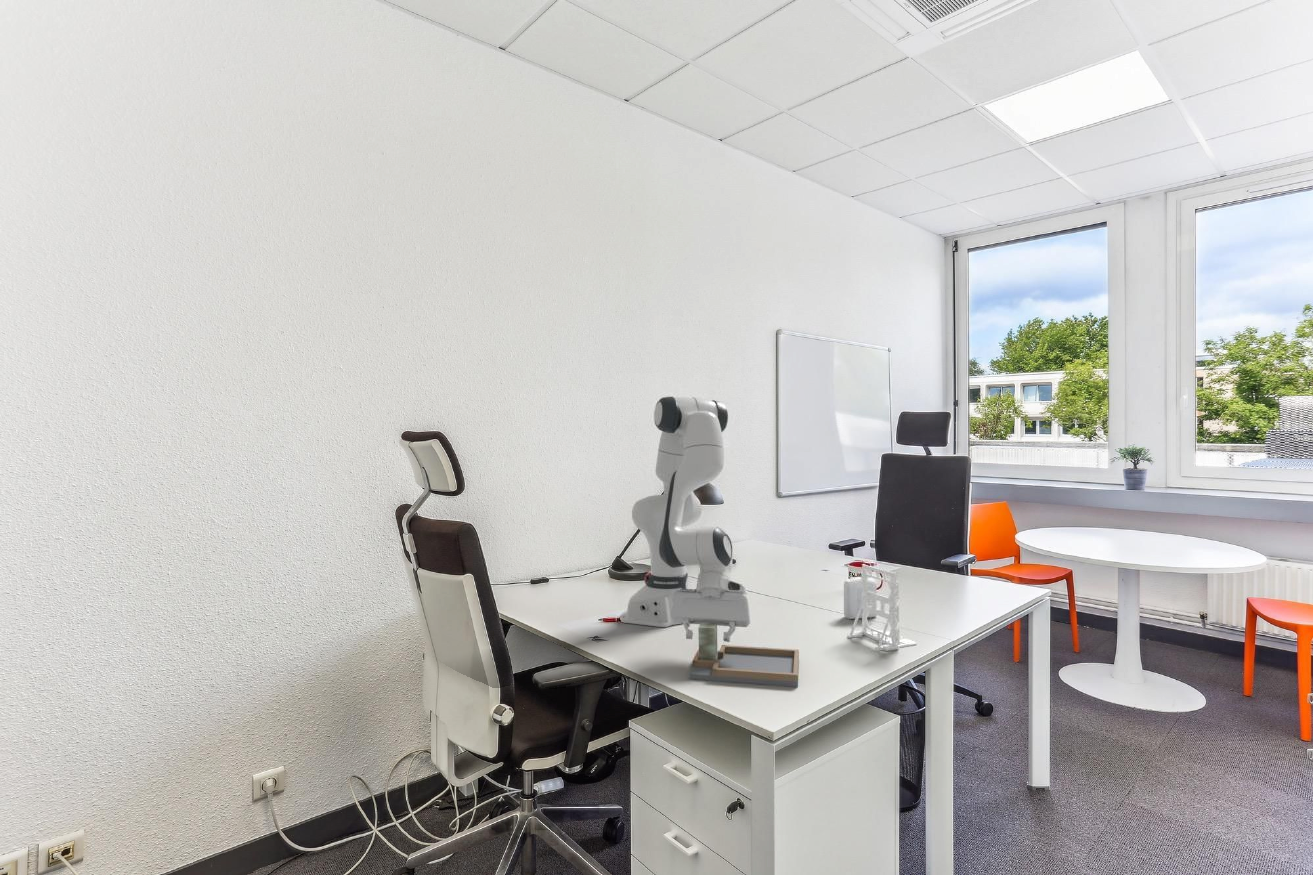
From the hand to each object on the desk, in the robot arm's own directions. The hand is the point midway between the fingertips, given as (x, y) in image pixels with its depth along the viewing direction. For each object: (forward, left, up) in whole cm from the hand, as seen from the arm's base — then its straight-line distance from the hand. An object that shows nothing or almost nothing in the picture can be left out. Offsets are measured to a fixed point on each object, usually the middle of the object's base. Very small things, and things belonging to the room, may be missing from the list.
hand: (707, 639), depth 156 cm
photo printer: (+40, +49, -7) cm, 64 cm away
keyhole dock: (+10, -1, -7) cm, 12 cm away
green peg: (0, -1, -5) cm, 5 cm away
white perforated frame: (+44, +27, -7) cm, 52 cm away
